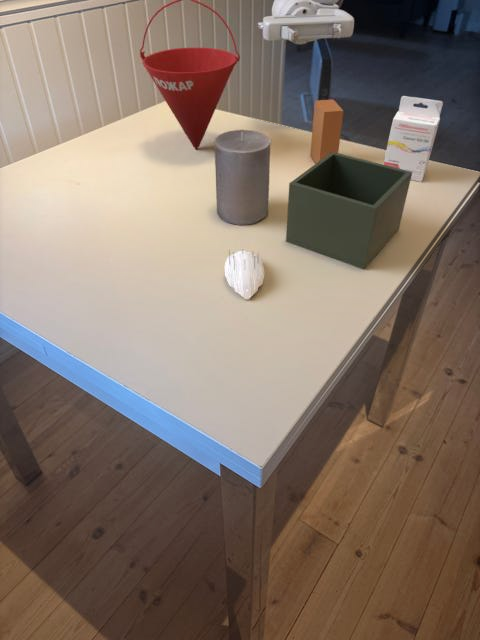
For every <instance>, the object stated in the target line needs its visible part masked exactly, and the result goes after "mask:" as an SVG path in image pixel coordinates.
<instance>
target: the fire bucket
mask: <svg viewBox="0 0 480 640" xmlns="http://www.w3.org/2000/svg"><path fill="white" fill-rule="evenodd" d="M182 1H183V0H174V1H171V2H169V3H167V4H165V5H163V6H162V7H161V8H160V9H158V10H157V11H156V12H155V13H154V14H153V16H152V17H151V18H150V20H149V21H148V23H147V26H146V28H145V31H144V33H143V39H142V44H141V45H142V46H141V48H140V50H139V56H140V58H141V60H142V62H141V64H142V65H143V67H144V68H145V70H146V71H147V73H148V75H149V76H150V79H152V81H153V83H154V84H155V86H156V88H157V90H158V91H159V93H160V95H161V96H162V97H163V100H164V101H165V102H166V104H167V106H168V108H169V109H170V111H171V112H172V114H173V116H174V117H175V119H176V121H177V122H178V124H179V126H180V127H181V129H182V131H183V132H184V134H185V135H186V137H187V139H188V141H189V142H190V144H191V145H192V147H193V148H194V149H195V150H198V149H199V147H200V145H201V143H202V142H203V139H204V136H205V134H206V132H207V130H208V128H209V125H210V123H211V120H212V118H213V116H214V113H215V111H216V109H217V107H218V105H219V103H220V100H221V97H222V95H223V93H224V90H225V88H226V86H227V84H228V81H229V79H230V77H231V74H232V72H233V70H234V68H235V66H236V64H237V63H238V62H240V60H241V56H240V53H239V52H238V49H237V45H236V41H235V39H234V35H233V33H232V31H231V29H230V27H229V26H228V24H227V22H226V20H224V18H223V17H222V16H221V15H220V14H219V13H218V12H217V11H216V10H214V9H213V8H212V7H210V6H209V5H207V4H205V3H203V2H200V1H198V0H190V1H191V2H194V3H196V4H198V5H200V6H203V7H205V8H206V9H208V10H209V11H211V12H212V13H214V14H216V16H217V17H218V18H219V19H220V20H221V21H222V22H223V24H224V25H225V27H226V29H227V31H228V32H229V34H230V38H231V40H232V43H233V46H234V50H235V53H236V55H237V56H236V55H235V54H234V53H232V52H231V51H227V50H223V49H219V48H212V47H198V46H197V47H194V46H193V47H179V48H171V49H165V50H161V51H157V52H153V53H150V54H148V55H146V56H145V53H146V51H143V50H144V47H145V41H146V36H147V33H148V30H149V27H150V25H151V23H152V22H153V20H154V18H155V17H156V16H157V15H158V14H159V13H160V12H162V11H163V10H164V9H165V8H167V7H169V6H171V5H174V4H177V3H179V2H182Z"/></svg>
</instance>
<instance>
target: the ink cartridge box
mask: <svg viewBox="0 0 480 640" xmlns="http://www.w3.org/2000/svg"><path fill="white" fill-rule="evenodd" d="M415 104H416V105H420V104H422V105H423V106H427V107H426V108H425V107H420V106H414V105H415ZM443 105H444V101H442V100H437V99H436V100H435V99H429V98H424V97H423V98H422V97H416V96H407V95H402V96H401V98H400V101H399V107H398V111H397V112H396V113H395V115H394V117H393V119H392V123H391V127H390V132H389V136H388V141H387V145H386V149H385V154H384V155H385V156H384V161H383V165H387V166H391V167H394V168H398V169H402V170H406V171H410V172H412V176H411V180H410V181H415V182H421V183H422V182H423V180H424V178H425V175H426V173H427V169H428V165H429V162H430V161H429V160H430V158H431V155H432V152H433V151H432V150H433V147H434V143H435V140H436V135H437V131H438V128H439V125H440V121H441V117H440V116H441V112H442V109H443Z"/></svg>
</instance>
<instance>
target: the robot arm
mask: <svg viewBox="0 0 480 640" xmlns="http://www.w3.org/2000/svg"><path fill="white" fill-rule="evenodd" d="M343 2H344V0H273V4H272V6H271V15H267V16H264V17H263V18H262V22H261V21H259V22H257V27H258V29H260V30H262V37H263V39H264V40H265V41H268V42H273V41H274V42H275V41H289V42H291V43H292V44H295V45H305V44H308V43H309V42H314V41H317V40H321V39H335V40H337V39H341V38H351V37H352V36H353V33H354V28H355V18H354V17H353V15H351V14H350V13H348V12H347V11H346V10H343V9H340V8H341V7H342V5H343Z"/></svg>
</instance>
